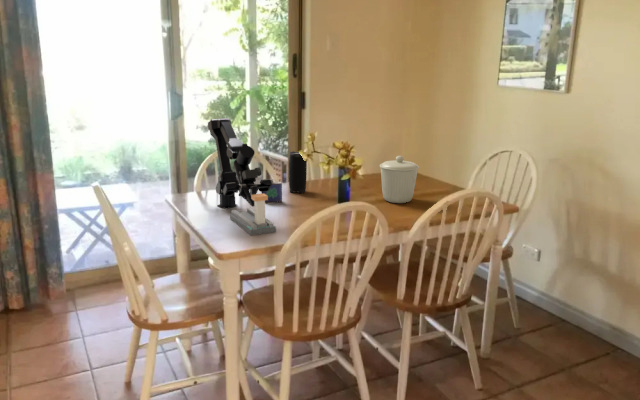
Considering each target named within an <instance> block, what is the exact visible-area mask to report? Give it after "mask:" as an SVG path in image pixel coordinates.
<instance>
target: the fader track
mask: <svg viewBox="0 0 640 400" xmlns="http://www.w3.org/2000/svg"><path fill="white" fill-rule="evenodd" d="M229 219H230V220H231V221H232V222H233V223H235V224H236V225H237V226H238V227H240V228H241V229H242V230H243V231H245V232H246V233H247V234H248V235H250V236H256V235H263V234H271V233H276V232H277V227H276V226H275V225H274V222H272V221H271V220H269V219H267V218H266V217H265V222H266V223H267V227H262V228H257V225H255V224H254V223H253V221H255V209H253V208H251V207H247V208H246V211H243V212H242V211H240V212H239V211H238V210H236V209H231V212H230V213H229Z"/></svg>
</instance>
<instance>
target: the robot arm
mask: <svg viewBox="0 0 640 400" xmlns="http://www.w3.org/2000/svg"><path fill="white" fill-rule="evenodd" d="M207 129H208V131H209V133H210V136H211V137H212V138H213V139H214V141H215V146H216V153H217V160H218V164H219V170H220V172H219V175H218V177H217V182H216V186H215V192H216V194H218V195H219V204H217V207H220V208H223V209H231V208H235V207H237V206H239V205H238V204H236V196H235V195H236V193H237V194H238V196H239V197H241V198H243V199H244V200H245V201H246V202H247V203H248V204H249V205H250V206H251V207H253V208H254V207H255V205H254V200H252V199H251V195H254V194H258V191H259V192H260V193H262V192H267V191H269V190H270V188H271V186H272V181H271V179H270V178H264V179H263V178H262V179H260V180H259V182H258V183H256V180H257V178H258V177H260V176H262V170H261V168H260V167H255V168H254V169H253V168H252V169H250V166H249V165H250V164H251V163H252V160H253V158H254V156H255V154H256V153H255V152H256V151H255V149H254V148H252V147H251V146H249V145H248V143H244V141H243V142H242V141H241V140H239V139H238V137H237V134H236V133H235V130H234V129H233V126H232V122H231V119H230V118H227V117H226V118H211V119H210V120H209V121H208V122H207ZM231 160H234V161H233V163H232V164H233V166H232V167H231ZM232 168H233V169H234V171H233V170H232Z"/></svg>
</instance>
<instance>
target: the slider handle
mask: <svg viewBox="0 0 640 400" xmlns="http://www.w3.org/2000/svg"><path fill="white" fill-rule="evenodd" d="M251 199H252V200H254V205H255V206H254V210H255V221H253V223H254V224H255V225H257V228H262V227H267V223H266V222H265V218H266V203H265V200H268V196H267V195H266V194H264V193H263V194H262V193H256V194H254V195H251Z"/></svg>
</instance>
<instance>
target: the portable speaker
mask: <svg viewBox="0 0 640 400" xmlns="http://www.w3.org/2000/svg"><path fill="white" fill-rule="evenodd" d="M299 152H300V151H295V150H294V151H290V152H289V159H288V186H289V193H291V194H294V193H299V194H304V193H306V190H307V189H306V188H307V175H308V173H307V171H308V170H307V167H308V164H307V160H306V161H304V160H303V158H302V156H301V155H300V154H299Z"/></svg>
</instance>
